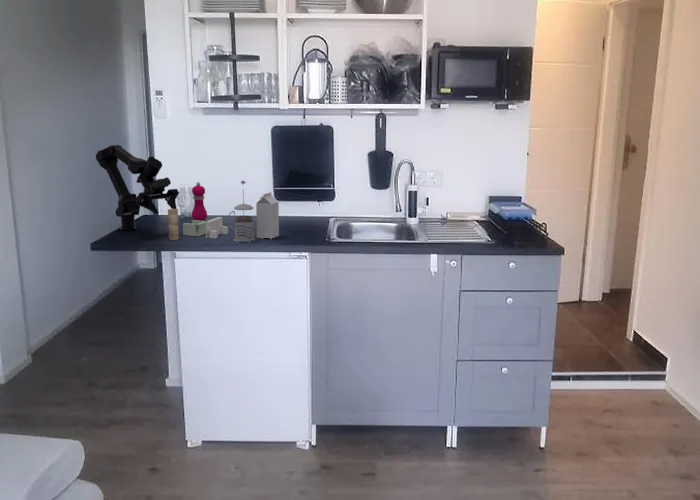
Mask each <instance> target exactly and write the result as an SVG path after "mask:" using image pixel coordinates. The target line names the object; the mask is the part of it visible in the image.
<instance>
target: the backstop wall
mask: <svg viewBox="0 0 700 500" xmlns="http://www.w3.org/2000/svg"><path fill="white" fill-rule="evenodd" d="M228 234H229V226H226V225H225V226H224V225H223V217H222V216H218V217H215V218H212V219H209V220H206V234H205V238H206V239H218V237H219V235H228Z"/></svg>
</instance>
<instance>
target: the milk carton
mask: <svg viewBox="0 0 700 500" xmlns="http://www.w3.org/2000/svg"><path fill="white" fill-rule="evenodd" d="M255 207H256V210H255V213H256V217H255V218H256V238H257V239H264V238H270V239H269V240H273V239H272V238H274V239H276V238H278V237H280V220H279V215H280V214H279V210H280V206H279V201H278V200H277V199H276V198H275V197H274V196H273V195H272V191H271V192H268V193H263V195H262V196H260V197H259V200H258V201H257V202H256V205H255ZM277 236H278V237H277ZM275 237H276V238H275Z"/></svg>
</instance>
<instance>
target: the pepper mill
mask: <svg viewBox="0 0 700 500" xmlns="http://www.w3.org/2000/svg"><path fill="white" fill-rule="evenodd" d="M191 193H192V195H193V196H192V197H193V202H194V204H193V209H192V211H191V218H192V219H193V220H197V221H207V220H206V219H207V218H208V212H207V209H206V208H205V205H204V200H205V194H206V189H205V187H204V186H202V185H201V183H200V182H199V181H198V182H196V184H195V185H194V186H193V187H192V189H191Z"/></svg>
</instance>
